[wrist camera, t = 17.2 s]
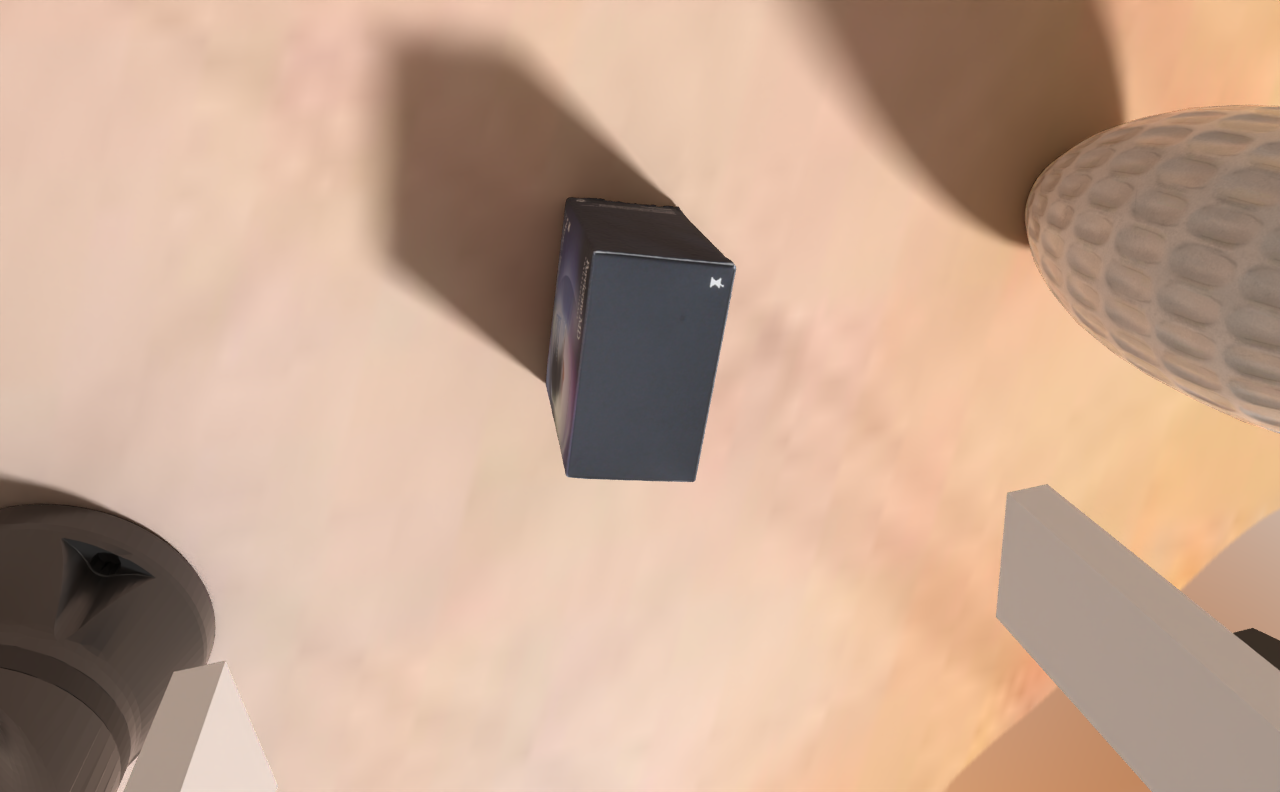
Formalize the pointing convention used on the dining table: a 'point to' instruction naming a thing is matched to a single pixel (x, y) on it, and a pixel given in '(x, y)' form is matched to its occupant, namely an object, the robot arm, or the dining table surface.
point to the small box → (634, 340)
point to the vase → (1174, 250)
